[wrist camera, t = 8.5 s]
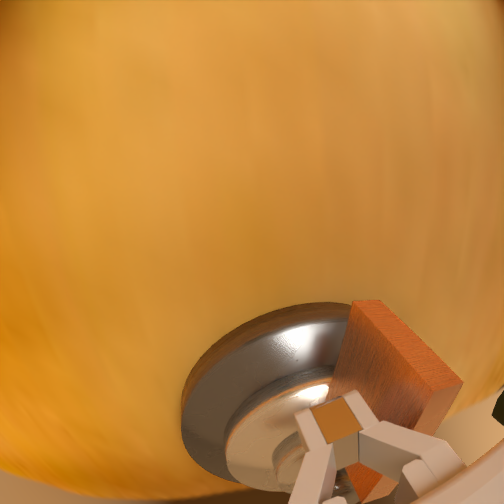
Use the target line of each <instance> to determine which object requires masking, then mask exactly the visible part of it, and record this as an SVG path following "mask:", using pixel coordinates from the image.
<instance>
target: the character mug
mask: <svg viewBox="0 0 504 504" xmlns="http://www.w3.org/2000/svg"><path fill="white" fill-rule="evenodd" d="M492 416H493V417H494V418H495V419H496V420H497V421H498V422H499V423H501V424H502V425H503V426H504V391H503V392H502V394H501V395H500V396H499V398H498V399H497V402H496V405H495V407H494V409H493V413H492Z"/></svg>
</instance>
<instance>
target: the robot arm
mask: <svg viewBox="0 0 504 504" xmlns="http://www.w3.org/2000/svg"><path fill="white" fill-rule="evenodd" d="M293 415H294V419H295V422H296V426H297V430H298V433H299V436H300V439H301V442H302V445H303V448H304V450H305V455H304V458H303V461H302V464H301V467H300V470H299V473H298V476H297V479H296V482H295V485H294V488H293V491H292V494H291V496H290V499H289V502H288V504H347V502H346V500H345V498H344V497H339V496H337V497H334V498H332V499H331V496H332V492H333V487H334V483H335V478H336V473H337V470H340V469H342V468H344V467H347V466H349V465H352V464H354V463H356V462H359V463H361V464H363V465H365V466H367V467H369V468H371V469H373V470H374V471H376V472H378V473H380V474H382V475H384V476H386V477H388V478H390V479H392V480H394V481H396V482H398V483H399V484H398V488H397V491H396V495H395V498H394V502H395V503H396V504H504V438H503V439H502V440H501V441H500V442H499V443H498V444H496V445H495V446H494V447H493V448H491V449H490V450H489V451H488V452H487V453H486V454H484V455H483V456H481V457H480V458H479V459H477V460H476V461H475V462H474V463H472V464H471V465H469V466H468V467H467V466H466V465H465V464H464V463H463V461H462V460H461V459H460V458H459V456H458V455H457V454H456V453H455V452H454V450H453V449H452V448H451V447H450V445H449V444H448V443H447V442H446V441H445V440H442V439H439V438H436V437H432V436H429V435H426V434H423V433H420V432H417V431H413V430H410V429H407V428H404V427H401V426H399V425H396V424H393V423H390V422H387V421H384V420H383V421H381V422H379V421H378V419H377V418H376V416H375V415H374V414H373V412H372V411H371V409H370V408H369V406H368V405H367V404H366V402H365V401H364V399H363V398H362V396H361V395H360V394H359V392H358V391H357V390H353V391H351V392H348V393H346V394H344V395H341V396H338V397H336V398H333V399H331V400H328V401H326V402H323V403H321V404H318V405H316V406H313V407H310V408H307V409H304V410H301V411H298V412H295V413H294V414H293Z"/></svg>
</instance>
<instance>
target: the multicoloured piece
mask: <svg viewBox="0 0 504 504" xmlns="http://www.w3.org/2000/svg"><path fill="white" fill-rule="evenodd" d="M463 383H464V382H463V381H462V380H461V379H460V378H459V377H458V376H457V375H456V374H455V373H454V372H453V371H452V370H451V369H450V368H449V367H448V366H447V365H446V364H445V363H444V362H443V361H442V360H441V359H440V358H439V357H438V356H437V355H436V354H435V353H434V352H433V351H432V350H431V349H430V348H429V347H428V346H427V345H426V344H425V343H424V342H423V341H422V340H421V339H420V338H419V337H418V336H417V335H416V334H415V333H414V332H413V331H412V330H411V329H410V328H409V327H408V326H407V325H405V324H404V323H403V322H402V321H401V320H400V319H399V318H398V317H397V316H396V315H395V314H394V313H393V312H392V311H391V310H390V309H389V308H388V307H386V306H385V305H384V304H383V303H382V302H381V301H380V300H367V301H353V302H352V306H351V310H350V315H349V319H348V323H347V326H346V330H345V334H344V338H343V342H342V345H341V349H340V353H339V356H338V360H337V363H336V365H329V366H322V367H316V368H312V369H308V370H304V371H301V372H298V373H294V374H291V375H289V376H287V377H284V378H282V379H279V380H277V381H275V382H273V383H271V384H269V385H268V386H266V387H264V388H263V389H261V390H259V391H258V392H256V393H255V394H254V395H252V396H251V397H250V398H248V399H247V400H246V401H245V402H244V403H243V404H242V405H240V406H239V407H238V408H237V410H236V411H235V412H234V413H233V415H232V416H231V418H230V419H229V421H228V423H227V425H226V428H225V430H224V436H223V439H224V449H225V456H226V463H227V467H228V470H229V472H230V473H231V475H232V476H233V477H234V478H235V479H236V480H238V481H239V482H241V483H242V484H244V485H246V486H249V487H252V488H255V489H259V490H265V491H284V492H286V493H290V494H292V491H293V488H294V485H295V482H296V479H297V476H298V473H299V470H300V467H301V464H302V461H303V458H304V455H305V450H304V448H303V445H302V442H301V439H300V436H299V433H298V430H297V426H296V422H295V419H294V415H293V414H294V413H295V412H298V411H301V410H304V409H307V408H310V407H313V406H316V405H318V404H321V403H323V402H326V401H328V400H331V399H333V398H336V397H338V396H341V395H344V394H346V393H348V392H351V391H353V390H357V391H358V392H359V394H360V395H361V396H362V398H363V399H364V401H365V402H366V404H367V405H368V406H369V408H370V409H371V411H372V412H373V414H374V415H375V416H376V418H377V419H378V421H379V422H381V421H383V420H384V421H387V422H390V423H393V424H396V425H399V426H401V427H404V428H407V429H410V430H413V431H417V432H420V433H423V434H426V435H429V436H433V434H434V433H435V431H436V430H437V428H438V427H439V425H440V423H441V422H442V420H443V419H444V417H445V415H446V413H447V412H448V410H449V408H450V407H451V405H452V403H453V401H454V400H455V398H456V396H457V394H458V392H459V390H460V389H461V387H462V385H463ZM345 469H346V471H347V474H348V476H349V478H350V480H351V482H352V484H353V487H354V489H355V491H356V493H357V495H358V497H359V499H360V502H361V504H363V503H366V502H369V501H372V500H376V499H379V498H381V497H384V496H387V495H389V494H390V493H391V491H392V490H393V489H394V488H395V487H396V485H397V484H398V482H396V481H394V480H392V479H390V478H388V477H386V476H384V475H382V474H380V473H378V472H376V471H374V470H373V469H371V468H369V467H367V466H365V465H363V464H361V463H359V462H356V463H354V464H352V465H349V466H347V467H345Z"/></svg>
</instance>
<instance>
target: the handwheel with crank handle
mask: <svg viewBox="0 0 504 504" xmlns="http://www.w3.org/2000/svg"><path fill="white" fill-rule="evenodd" d="M351 306H352V305H348V304H343V303H332V302H321V303H307V304H301V305H294V306H290V307H286V308H282V309H278V310H275V311H272V312H270V313H267V314H264V315H262V316H259V317H257V318H255V319H253V320H251V321H248V322H246V323H244V324H242V325H240V326H239V327H237V328H236V329H234V330H233V331H231V332H229V333H228V334H226V335H225V336H224V337H222V338H221V339H220V340H219V341H217V342H216V343H215V344H214V345H212V346H211V347H210V348H209V349H208V350H207V351H206V352H205V353H204V354H203V356H202V357H201V358H200V359H199V360H198V362H197V363H196V364H195V366H194V367H193V369H192V370H191V372H190V374H189V376H188V378H187V380H186V383H185V386H184V389H183V392H182V401H181V431H182V439H183V442H184V445H185V448H186V449H187V451H188V453H189V454H190V456H191V457H192V458H193V459H194V460H195V461H196V463H197V464H199V465H200V466H201V467H202V468H204V469H205V470H207V471H208V472H210V473H212V474H214V475H216V476H218V477H221V478H223V479H226V480H229V481H233V482H237V483H241V482H239V481H238V480H236V479H235V478H234V477H233V476H232V475H231V473H230V472H229V470H228V467H227V463H226V456H225V449H224V439H223V436H224V430H225V428H226V425H227V423H228V421H229V419H230V418H231V416H232V415H233V413H234V412H235V411H236V410H237V408H238V407H239V406H240V405H242V404H243V403H244V402H245V401H246V400H247V399H248V398H250V397H251V396H252V395H254V394H255V393H256V392H258V391H259V390H261V389H263V388H264V387H266V386H268V385H269V384H271V383H273V382H275V381H277V380H279V379H282V378H284V377H287V376H289V375H291V374H294V373H298V372H301V371H304V370H308V369H312V368H316V367H322V366H329V365H336V363H337V360H338V356H339V353H340V349H341V345H342V342H343V338H344V334H345V330H346V326H347V323H348V319H349V315H350V310H351ZM337 496H339V497H344V498H345V500H346V502H347V504H356V503H357V502H359V501H360V499H359V497H358V495H357V493H356V491H355V489H354V487H353V484H352V482H351V480H350V478H349V476H348V474H347V471H346V469H345V467H344V468H342V469H340V470H337V473H336V478H335V483H334V487H333V492H332V496H331V499H332V498H334V497H337Z"/></svg>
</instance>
